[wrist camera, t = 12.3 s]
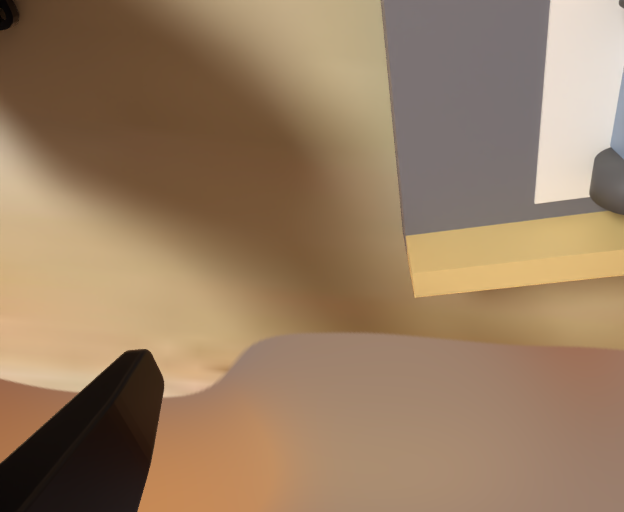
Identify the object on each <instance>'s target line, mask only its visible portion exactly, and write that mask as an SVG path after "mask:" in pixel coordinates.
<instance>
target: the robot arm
mask: <svg viewBox="0 0 624 512" xmlns="http://www.w3.org/2000/svg"><path fill="white" fill-rule="evenodd" d="M0 8H1V9H3V11H4V12H5V14H6V19H3V18H2V17H1V16H0V30H5V29H8V28H10V27H12V26H14V25H16V24H17V22H18V21H19V14H18V10H17V8H16V6H15V4H14V2H13V0H0ZM163 392H164V380H163V376H162V374H161V372H160V370H159V368H158V366H157V364H156V362H155V360H154V358H153V356H152V354H151V352H150V351H149V350H147V349H138V350H128V351H126V352H124V353H123V354H122V355H121V356H120V357H119V358H117V359H116V360H115V361H114V362H113V363H112V364H111V365H110V366H109V367H107V368H106V369H105V370H104V371H103V372H102V373H101V374H100V375H98V376H97V377H96V378H95V379H94V380H93V381H92V382H91V383H90V384H88V385H87V386H86V387H85V388H84V389H83V390H82V391H81V392H79V393H78V394H77V395H76V396H75V397H74V398H73V399H72V400H71V401H69V402H68V403H67V404H66V405H65V406H64V407H63V408H62V409H61V410H60V411H58V412H57V413H56V414H55V415H54V416H53V417H52V418H50V420H48V421H47V422H46V423H45V424H44V425H43V426H42V427H40V428H39V429H38V430H37V431H36V432H35V433H34V434H33V435H32V436H30V437H29V438H28V439H27V440H26V441H25V442H24V443H23V444H21V445H20V446H19V447H18V448H17V449H16V450H15V451H14V452H13V453H11V454H10V455H9V456H8V457H7V458H6V459H5V460H4V461H2V462H1V463H0V512H137V511H138V507H139V504H140V500H141V497H142V493H143V490H144V486H145V483H146V479H147V476H148V472H149V468H150V464H151V459H152V454H153V449H154V444H155V438H156V432H157V426H158V421H159V414H160V409H161V403H162V398H163Z"/></svg>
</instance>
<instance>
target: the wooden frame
mask: <svg viewBox="0 0 624 512" xmlns="http://www.w3.org/2000/svg"><path fill="white" fill-rule="evenodd" d="M381 7H382V17H383V28H384V38H385V48H386V59H387V69H388V80H389V90H390V101H391V111H392V122H393V132H394V143H395V153H396V163H397V174H398V184H399V195H400V205H401V216H402V226H403V235H404V241H405V246H406V252H407V258H408V263H409V269H410V275H411V280H412V286H413V292H414V297H415V298H417V297H426V296H435V295H445V294H454V293H464V292H473V291H482V290H492V289H501V288H510V287H520V286H529V285H539V284H548V283H557V282H567V281H576V280H585V279H595V278H604V277H613V276H623V275H624V215H620V214H617V213H613V212H611V211H608V210H606V209H604V208H602V207H600V206H599V205H597V204H596V203H595V202H594V201H593V200H592V199H591V197H590V195H589V189H590V183H591V177H592V170H593V164H594V159H595V157H596V155H597V154H598V153H600V152H601V151H603V150H605V149H607V148H610V143H611V137H612V132H613V126H614V120H615V114H616V109H617V103H618V97H619V91H620V86H621V80H622V74H623V68H624V8H622V7H621V6H620V5H619V0H381Z"/></svg>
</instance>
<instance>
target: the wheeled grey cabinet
mask: <svg viewBox="0 0 624 512" xmlns="http://www.w3.org/2000/svg"><path fill="white" fill-rule="evenodd" d="M619 5H620V6H621V7H622V8H624V0H619ZM589 195H590V197H591V199H592V200H593V201H594V202H595V203H596V204H597V205H599V206H600V207H602V208H604V209H606V210H608V211H611V212H613V213H617V214H620V215H624V68H623V74H622V80H621V86H620V91H619V97H618V103H617V109H616V114H615V120H614V126H613V132H612V137H611V143H610V148H607V149H605V150H603V151H601V152H600V153H598V154H597V155H596V157H595V159H594V164H593V170H592V177H591V183H590V189H589Z"/></svg>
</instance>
